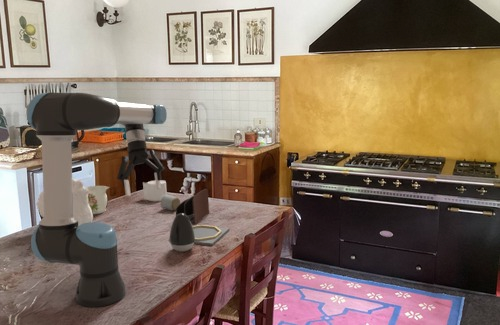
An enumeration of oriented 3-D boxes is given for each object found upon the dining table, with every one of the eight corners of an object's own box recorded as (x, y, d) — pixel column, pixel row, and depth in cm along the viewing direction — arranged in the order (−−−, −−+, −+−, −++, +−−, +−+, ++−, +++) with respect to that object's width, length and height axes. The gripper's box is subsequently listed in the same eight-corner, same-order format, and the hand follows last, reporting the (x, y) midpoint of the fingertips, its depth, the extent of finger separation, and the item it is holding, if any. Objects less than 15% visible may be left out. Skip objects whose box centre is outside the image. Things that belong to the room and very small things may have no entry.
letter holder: (209, 213, 233) (208, 186, 230) (195, 225, 214) (194, 196, 211) (191, 212, 235) (190, 185, 233) (175, 224, 217) (174, 195, 214)
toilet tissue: (169, 199, 259) (168, 182, 258) (149, 202, 253) (148, 185, 252) (163, 195, 268) (162, 179, 267) (143, 198, 263) (142, 181, 261)
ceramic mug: (172, 212, 235) (172, 197, 234) (160, 210, 239) (160, 196, 238) (185, 207, 244) (184, 193, 243) (173, 205, 248) (172, 192, 247)
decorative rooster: (101, 227, 212) (97, 176, 207) (78, 238, 197) (73, 183, 193) (58, 222, 220) (53, 172, 215) (33, 233, 205) (27, 179, 201)
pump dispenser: (198, 251, 181) (197, 215, 178) (172, 255, 177) (171, 218, 175) (192, 243, 190) (190, 208, 188) (167, 246, 187) (166, 211, 184)
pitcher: (85, 208, 244) (82, 183, 241) (116, 209, 240) (114, 184, 238) (73, 214, 233) (71, 188, 230) (106, 216, 230) (104, 189, 227)
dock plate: (212, 245, 187) (212, 241, 187) (169, 240, 194) (169, 236, 193) (229, 230, 206) (229, 226, 206) (189, 226, 212) (189, 222, 212)
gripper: (167, 137, 188) (175, 186, 184) (114, 150, 193) (120, 199, 189) (160, 133, 181) (168, 184, 177) (104, 147, 186) (111, 197, 182)
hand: (143, 192), depth 183 cm, fingers open, 13 cm apart
